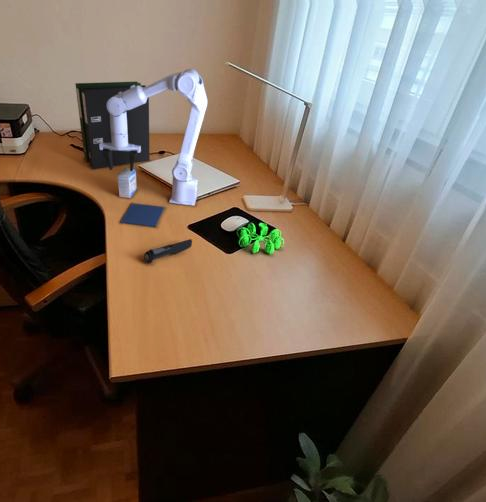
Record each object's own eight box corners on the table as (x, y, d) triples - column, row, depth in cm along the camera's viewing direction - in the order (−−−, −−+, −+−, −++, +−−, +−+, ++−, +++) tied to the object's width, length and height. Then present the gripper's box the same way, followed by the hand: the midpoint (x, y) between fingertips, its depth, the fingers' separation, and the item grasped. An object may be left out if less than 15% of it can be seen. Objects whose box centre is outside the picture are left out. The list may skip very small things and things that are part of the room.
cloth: (164, 207, 126) (164, 207, 126) (155, 227, 115) (155, 226, 115) (132, 204, 127) (132, 203, 127) (120, 222, 116) (120, 222, 116)
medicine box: (130, 198, 131) (129, 177, 126) (118, 197, 132) (117, 175, 127) (136, 190, 137) (136, 169, 132) (126, 188, 138) (124, 167, 133)
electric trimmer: (194, 250, 105) (195, 242, 103) (148, 264, 98) (148, 255, 96) (187, 244, 108) (188, 236, 106) (142, 258, 101) (142, 248, 99)
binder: (138, 151, 174) (136, 81, 155) (150, 161, 163) (150, 87, 145) (84, 158, 162) (75, 83, 144) (93, 169, 152) (84, 90, 134)
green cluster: (287, 238, 113) (291, 220, 109) (277, 262, 102) (282, 243, 98) (242, 226, 118) (245, 208, 114) (228, 249, 107) (231, 229, 103)
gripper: (141, 130, 124) (142, 167, 132) (101, 128, 125) (105, 164, 133) (138, 136, 119) (139, 174, 126) (96, 133, 119) (100, 171, 127)
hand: (121, 169), depth 129 cm, fingers open, 7 cm apart
